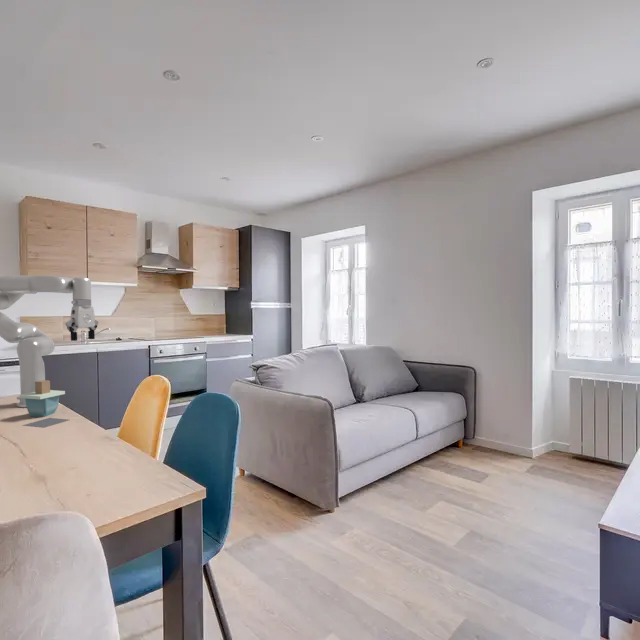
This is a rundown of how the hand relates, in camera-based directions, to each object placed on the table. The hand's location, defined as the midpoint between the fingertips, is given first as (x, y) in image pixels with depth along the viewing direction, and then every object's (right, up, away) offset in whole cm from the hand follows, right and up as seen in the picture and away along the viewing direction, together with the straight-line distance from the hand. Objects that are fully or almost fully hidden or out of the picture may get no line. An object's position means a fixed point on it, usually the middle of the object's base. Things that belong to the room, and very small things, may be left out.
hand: (83, 339), depth 191 cm
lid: (-3, -22, -24) cm, 32 cm away
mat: (+7, -31, -35) cm, 47 cm away
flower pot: (-3, -31, -23) cm, 39 cm away
